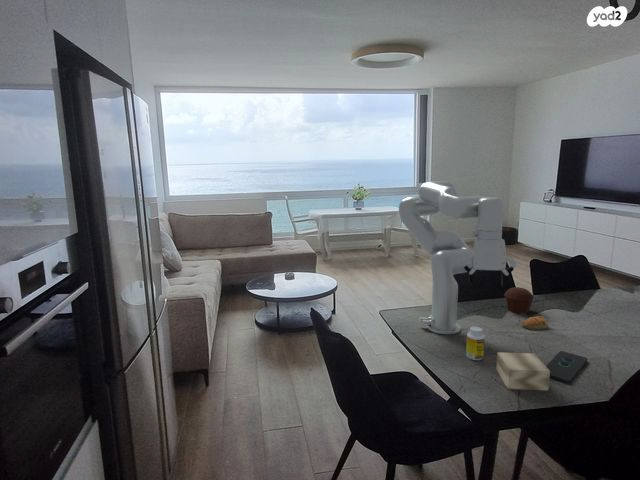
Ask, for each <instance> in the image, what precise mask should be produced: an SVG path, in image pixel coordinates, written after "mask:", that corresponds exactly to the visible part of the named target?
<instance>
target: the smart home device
mask: <svg viewBox="0 0 640 480" xmlns="http://www.w3.org/2000/svg"><path fill="white" fill-rule="evenodd" d="M587 363H588V358H587V357H586V356H585V357H584V356H582V355H579V354H578V355H577V354H574V353H570V352H568V351H563V350H560V351H559V352H558V353H557V354H556V355H555V356H554V357H553V358H552V359H551V360H550V361H549V362H548V364H546V365H545V366H546V367H547V368H548V369H549V370H550V378H549V380H550V379H551V380H554V381H556V382H560V383H563V384H567V385H570V384H572V382H573V381H574V380H575V379H576V378H577V376H578V375H579V373H580V372H581V371H582V369H583V368H584V367H585V366H586V364H587Z"/></svg>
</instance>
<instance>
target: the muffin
mask: <svg viewBox="0 0 640 480" xmlns="http://www.w3.org/2000/svg"><path fill="white" fill-rule="evenodd" d="M503 295H504V297H505V305H506V307H505V308H506V309H507V311H508V312H510V313H514V314H520V315H522V314H524V315H525V314H528V313H530V309H531V306H532V301H533V300H534V299H535V297H534V295H533V293H532V292H530V290H528V289H527V288H524V287H520V286H519V287H517V286H515V287H511V288H509V289H507V290H506V292H504V294H503Z"/></svg>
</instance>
